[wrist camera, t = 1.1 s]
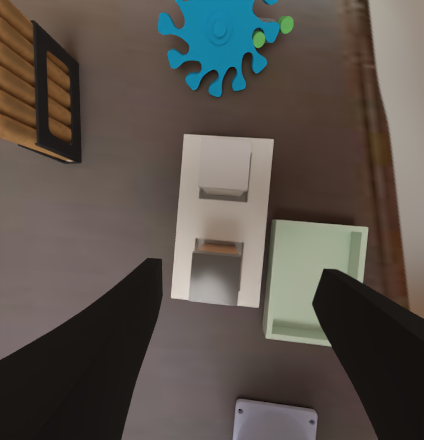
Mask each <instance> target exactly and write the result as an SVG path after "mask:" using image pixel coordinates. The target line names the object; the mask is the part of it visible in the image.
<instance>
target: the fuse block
mask: <svg viewBox="0 0 424 440" xmlns="http://www.w3.org/2000/svg"><path fill="white" fill-rule="evenodd" d="M202 137H214V138H232V139H249V140H252V143H251V155H250V166H249V177H248V189H247V191H246V192H243V194H242V195H241V196H240V197H230V196H217V195H208V194H207V193H206V192H205V191H204V190H203V189H202V188H199V187H198V178H199V166H200V154H201V142H202ZM273 143H274V139H260V138H243V137H226V136H208V135H191V134H184V142H183V155H182V167H181V180H180V192H179V204H178V217H177V229H176V242H175V254H174V267H173V279H172V292H171V298H176V299H185V300H189V288H190V275H191V263H192V252H193V251H194V250H198V249H199V247H200V246H201V245H202V244H203V243H214V244H225V245H235V246H236V248H237V251H238V254H240V255H241V269H240V280H239V292H238V303H237V305H238V306H247V307H255V308H259V299H260V288H261V277H262V266H263V255H264V244H265V232H266V221H267V210H268V199H269V188H270V177H271V166H272V154H273Z"/></svg>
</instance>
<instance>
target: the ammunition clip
mask: <svg viewBox="0 0 424 440" xmlns="http://www.w3.org/2000/svg"><path fill="white" fill-rule="evenodd" d="M31 22H32V23H33V24H32V23H31ZM31 22H30V21H29V20H28V19H27V18H26V17H25V16H24V15H23V14H22V13H21V12H20V11H19V10H18V9H17V8H16V7H15V6H14V5H13V4H12V3H11V2H10V1H9V0H0V138H3V139H6V140H9V141H11V142H14V143H17V144H18V146H21V147H23V148H26V149H28V150H31V151H34V152H36V153H39V154H41V155H44V156H46V157H49V158H52V159H54V160H57V161H59V162H62V163H64V164H70V163H80V162H81V127H80V93H79V64H78V62H77V61H75V60H74V59H73V58H72V57H71V56H70V55H69V54H68V53H67V52H66V51H65V50H64V49H63V48H62V47H61V46H60V45H59V44H58V43H57V42H56V41H55V40H54V39H53V38H52V37H51V36H50V35H49V34H48V33H47V32H46V31H45V30H44V29H43V28H42V27H41V26H39V25H38V24H37V23H36V22H35V21H34V20H31Z"/></svg>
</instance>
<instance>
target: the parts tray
mask: <svg viewBox="0 0 424 440" xmlns="http://www.w3.org/2000/svg"><path fill="white" fill-rule="evenodd" d="M367 236H368V227H360V226H348V225H336V224H324V223H312V222H300V221H288V220H276V219H272V222H271V233H270V244H269V255H268V266H267V278H266V289H265V300H264V311H263V322H262V328H263V331H264V334H265V337H266V338H267V339H275V340H283V341H292V342H300V343H308V344H316V345H324V346H331V344H330V343H329V341H328V339H327V337H326V335H325V333H324V332H323V330H322V328H321V326H320V323H319V321H318V319H317V316H316V314H315V311H314V309H313V306H312V301H313V298H314V295H315V292H316V289H317V286H318V284H319V281H320V278H321V275H322V272H323V269H324V268H325V269H338V270H340V271H342V272H344V273H346V274H347V275H349V276H351V277H353V278H355V279H356V280H358V281H360V282H361V283H363V276H364V266H365V256H366V246H367Z"/></svg>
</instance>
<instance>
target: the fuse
mask: <svg viewBox="0 0 424 440" xmlns="http://www.w3.org/2000/svg"><path fill="white" fill-rule="evenodd" d="M251 143H252V140H249V139H232V138H214V137H202V142H201V154H200V166H199V178H198V187H199V188H202V189H203V190H204V191H205V192H206V193H207V194H208V195H217V196H230V197H240V196H241V195H242V194H243V192H246V191H247V189H248V177H249V166H250V155H251Z"/></svg>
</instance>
